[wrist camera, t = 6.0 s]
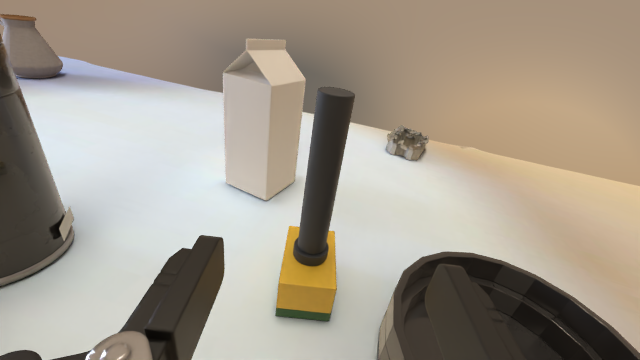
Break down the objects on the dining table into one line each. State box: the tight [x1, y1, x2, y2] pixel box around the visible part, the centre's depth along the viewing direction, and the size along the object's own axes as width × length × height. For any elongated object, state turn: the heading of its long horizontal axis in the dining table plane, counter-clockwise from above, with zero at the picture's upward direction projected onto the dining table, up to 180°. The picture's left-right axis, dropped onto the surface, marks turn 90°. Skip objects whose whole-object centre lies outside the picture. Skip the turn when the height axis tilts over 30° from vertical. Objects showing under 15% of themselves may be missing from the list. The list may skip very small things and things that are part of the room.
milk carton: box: [223, 39, 306, 201], centre depth 37 cm, size 7×7×19 cm
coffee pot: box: [0, 14, 63, 78], centre depth 69 cm, size 21×12×15 cm, turn 74°
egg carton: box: [386, 125, 429, 160], centre depth 61 cm, size 11×8×4 cm
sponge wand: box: [276, 87, 355, 321], centre depth 23 cm, size 7×4×18 cm, turn 179°
